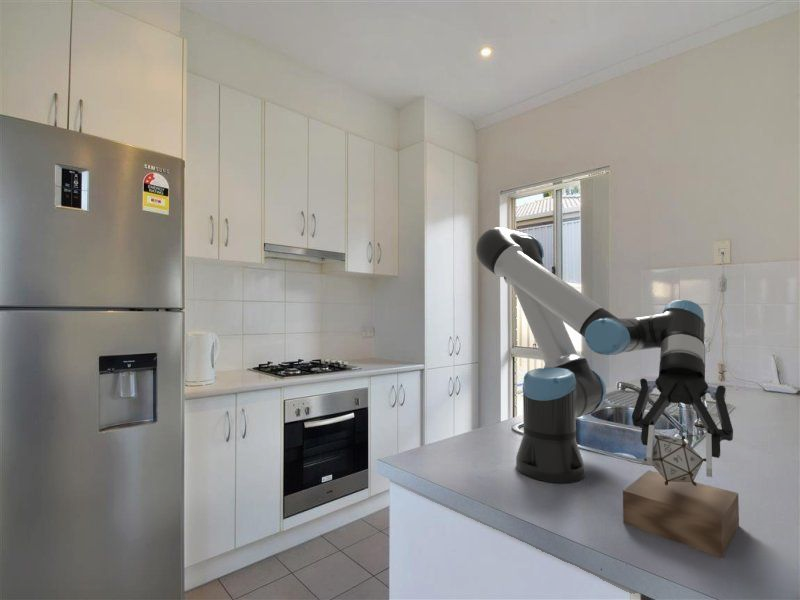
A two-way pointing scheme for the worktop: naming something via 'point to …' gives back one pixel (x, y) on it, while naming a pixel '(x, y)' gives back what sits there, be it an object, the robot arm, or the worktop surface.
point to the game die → (676, 460)
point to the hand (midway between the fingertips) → (678, 466)
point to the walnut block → (683, 512)
